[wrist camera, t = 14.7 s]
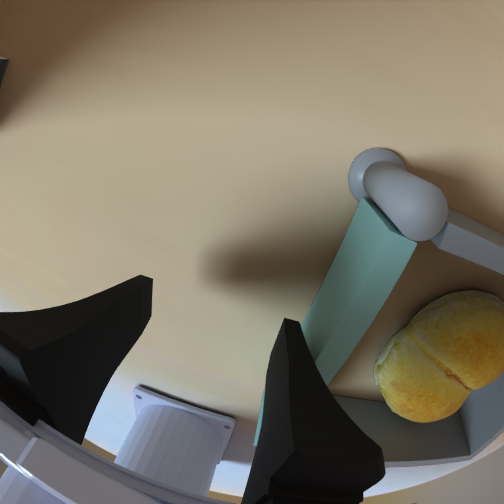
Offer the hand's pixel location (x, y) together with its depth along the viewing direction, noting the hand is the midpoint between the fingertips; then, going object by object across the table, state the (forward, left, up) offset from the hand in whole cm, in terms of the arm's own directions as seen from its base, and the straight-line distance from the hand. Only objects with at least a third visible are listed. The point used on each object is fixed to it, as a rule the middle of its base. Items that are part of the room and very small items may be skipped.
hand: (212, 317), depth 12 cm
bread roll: (-1, -13, -3) cm, 13 cm away
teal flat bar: (+1, -5, -2) cm, 5 cm away
